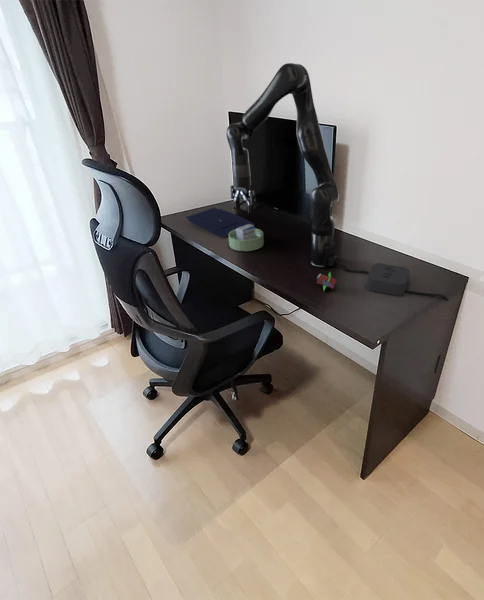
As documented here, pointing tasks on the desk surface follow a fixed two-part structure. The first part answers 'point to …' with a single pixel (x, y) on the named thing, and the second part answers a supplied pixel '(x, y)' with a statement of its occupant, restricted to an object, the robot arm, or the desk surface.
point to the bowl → (246, 241)
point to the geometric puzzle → (326, 281)
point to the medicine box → (246, 232)
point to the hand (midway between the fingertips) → (244, 211)
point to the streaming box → (388, 279)
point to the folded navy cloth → (218, 221)
